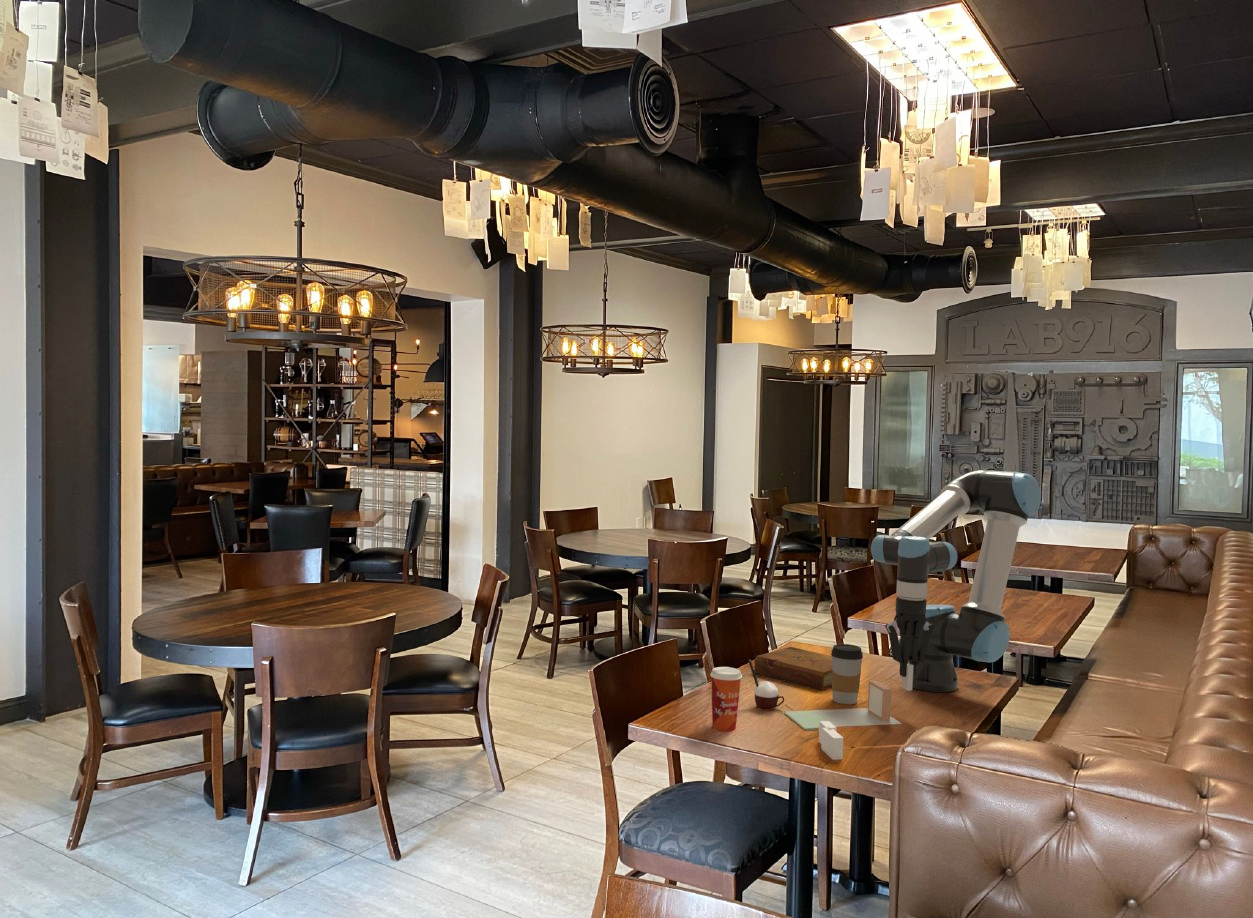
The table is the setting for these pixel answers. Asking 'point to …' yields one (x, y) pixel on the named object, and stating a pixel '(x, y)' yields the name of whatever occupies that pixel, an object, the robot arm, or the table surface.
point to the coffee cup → (846, 673)
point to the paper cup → (725, 697)
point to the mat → (837, 718)
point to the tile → (879, 700)
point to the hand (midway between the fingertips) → (906, 688)
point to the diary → (797, 667)
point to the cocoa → (765, 693)
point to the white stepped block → (830, 740)
